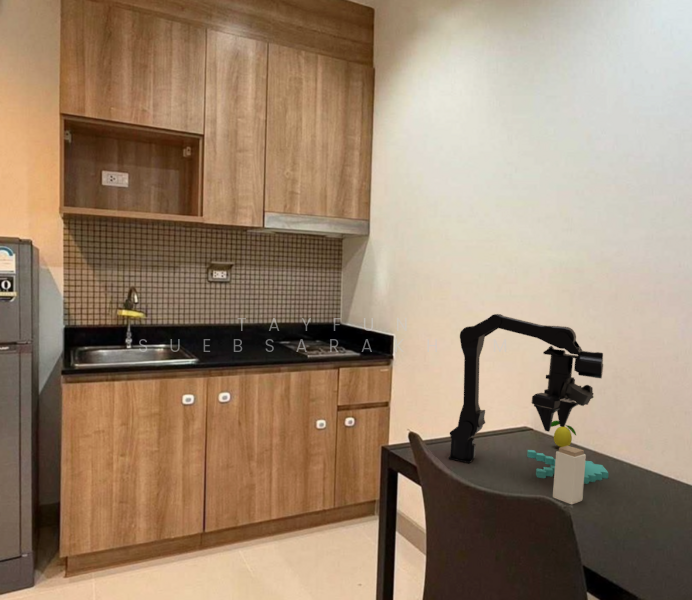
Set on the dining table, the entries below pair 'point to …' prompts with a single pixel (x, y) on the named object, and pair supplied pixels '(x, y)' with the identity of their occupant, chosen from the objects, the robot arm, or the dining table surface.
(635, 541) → the dining table surface
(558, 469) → the canister
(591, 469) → the alien figure
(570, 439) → the lemon
